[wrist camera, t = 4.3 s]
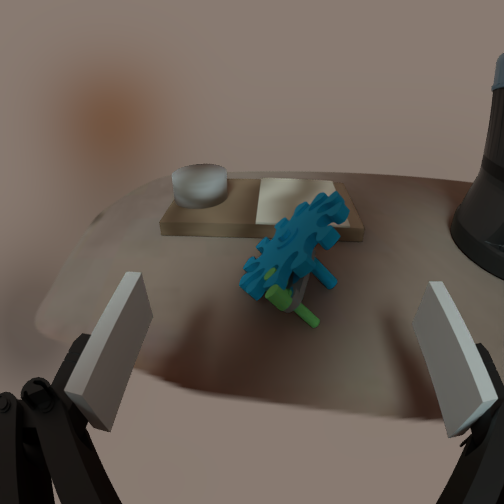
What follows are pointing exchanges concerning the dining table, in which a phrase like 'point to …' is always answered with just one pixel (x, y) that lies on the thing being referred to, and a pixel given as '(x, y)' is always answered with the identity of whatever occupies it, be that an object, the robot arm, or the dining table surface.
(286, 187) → the wooden board
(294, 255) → the gear
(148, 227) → the dining table surface
